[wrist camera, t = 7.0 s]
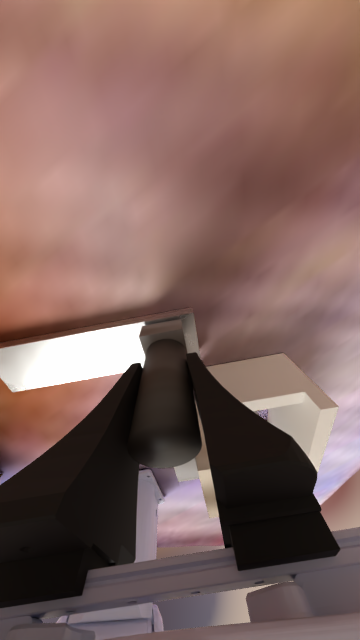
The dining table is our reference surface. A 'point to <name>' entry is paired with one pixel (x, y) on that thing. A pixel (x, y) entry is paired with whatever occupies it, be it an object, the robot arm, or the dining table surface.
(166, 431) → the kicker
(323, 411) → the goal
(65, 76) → the dining table surface
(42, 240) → the dining table surface
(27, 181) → the dining table surface
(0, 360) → the rail
